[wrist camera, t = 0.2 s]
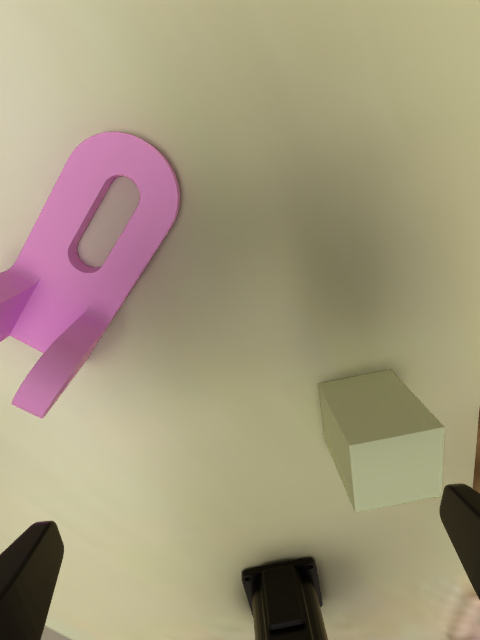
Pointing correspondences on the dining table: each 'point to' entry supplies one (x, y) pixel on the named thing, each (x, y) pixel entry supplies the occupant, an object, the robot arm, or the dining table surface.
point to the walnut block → (477, 462)
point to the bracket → (71, 273)
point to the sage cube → (382, 440)
